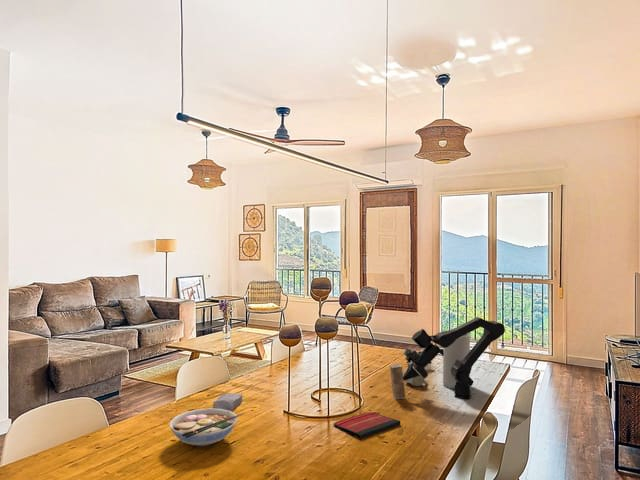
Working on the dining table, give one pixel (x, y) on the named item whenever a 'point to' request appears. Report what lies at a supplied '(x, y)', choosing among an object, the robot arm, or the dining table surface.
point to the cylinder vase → (454, 358)
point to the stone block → (227, 401)
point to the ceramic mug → (416, 380)
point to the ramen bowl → (203, 426)
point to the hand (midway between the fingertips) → (402, 379)
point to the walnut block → (397, 381)
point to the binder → (366, 424)
